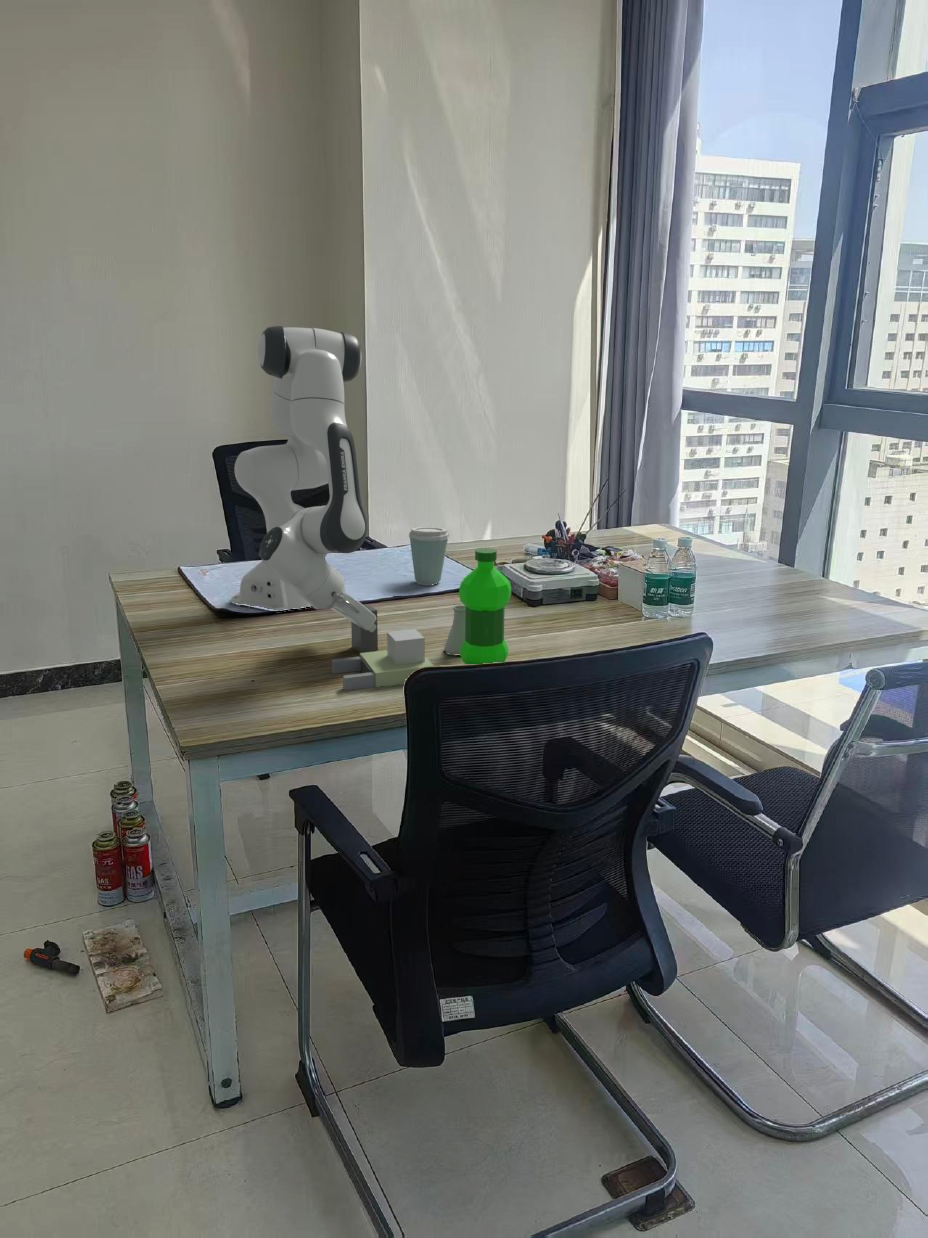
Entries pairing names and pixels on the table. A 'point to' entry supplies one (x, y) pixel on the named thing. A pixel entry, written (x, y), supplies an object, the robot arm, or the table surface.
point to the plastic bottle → (484, 611)
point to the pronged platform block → (385, 662)
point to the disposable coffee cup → (428, 553)
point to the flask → (456, 631)
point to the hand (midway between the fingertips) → (367, 625)
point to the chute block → (365, 636)
